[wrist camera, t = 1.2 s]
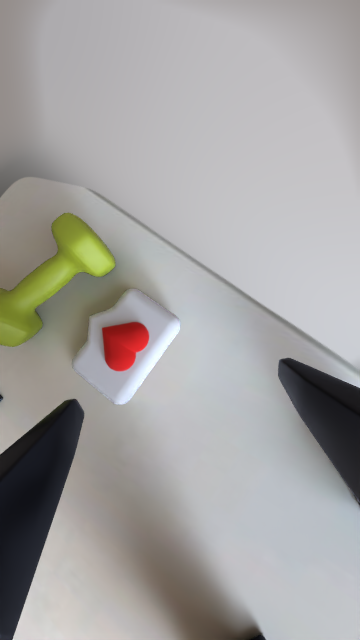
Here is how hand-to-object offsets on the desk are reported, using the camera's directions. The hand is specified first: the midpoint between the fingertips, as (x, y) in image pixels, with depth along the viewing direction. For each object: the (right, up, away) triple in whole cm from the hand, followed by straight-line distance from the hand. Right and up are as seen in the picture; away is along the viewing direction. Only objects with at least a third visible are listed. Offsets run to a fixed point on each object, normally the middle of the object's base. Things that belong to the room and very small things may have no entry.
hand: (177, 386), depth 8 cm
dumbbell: (-16, +7, +17) cm, 24 cm away
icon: (-7, 0, +16) cm, 17 cm away
